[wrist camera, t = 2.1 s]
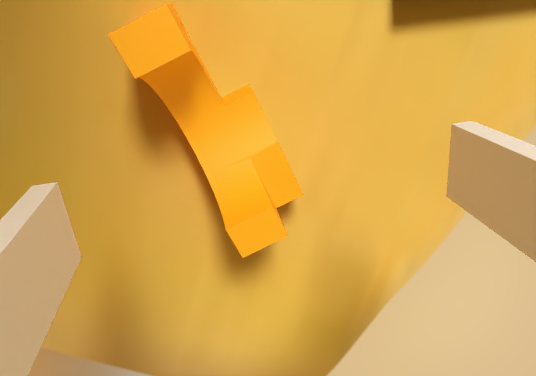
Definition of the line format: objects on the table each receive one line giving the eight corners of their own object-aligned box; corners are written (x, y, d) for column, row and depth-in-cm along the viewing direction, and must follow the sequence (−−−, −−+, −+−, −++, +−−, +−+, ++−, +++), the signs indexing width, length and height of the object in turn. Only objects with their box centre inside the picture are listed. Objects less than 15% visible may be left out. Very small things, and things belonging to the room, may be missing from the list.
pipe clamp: (291, 174, 28) (318, 220, 22) (231, 204, 28) (242, 258, 22) (201, -12, 22) (206, -18, 17) (129, 26, 23) (107, 34, 17)
